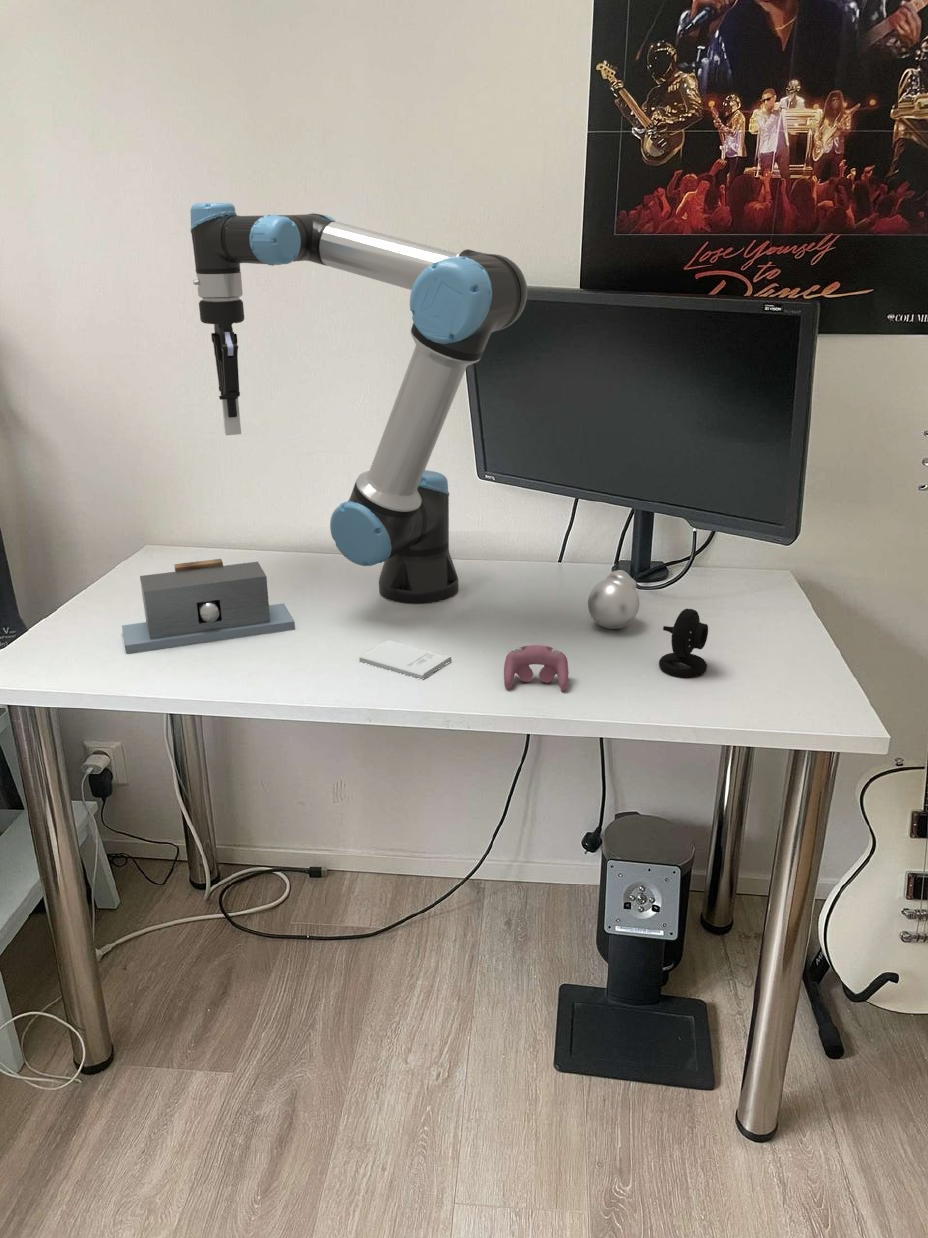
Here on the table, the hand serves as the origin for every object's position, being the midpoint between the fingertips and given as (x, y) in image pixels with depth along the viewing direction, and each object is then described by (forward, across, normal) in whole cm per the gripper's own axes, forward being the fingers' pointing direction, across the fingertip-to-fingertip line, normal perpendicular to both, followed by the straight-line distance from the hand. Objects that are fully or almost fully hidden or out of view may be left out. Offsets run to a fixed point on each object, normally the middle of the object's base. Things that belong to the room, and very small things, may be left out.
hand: (233, 433), depth 184 cm
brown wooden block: (+29, +19, -10) cm, 36 cm away
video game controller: (+30, +59, +34) cm, 75 cm away
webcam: (+30, +63, +58) cm, 91 cm away
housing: (+29, +21, -10) cm, 37 cm away
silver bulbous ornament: (+30, +44, +56) cm, 77 cm away
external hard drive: (+30, +44, +18) cm, 57 cm away
